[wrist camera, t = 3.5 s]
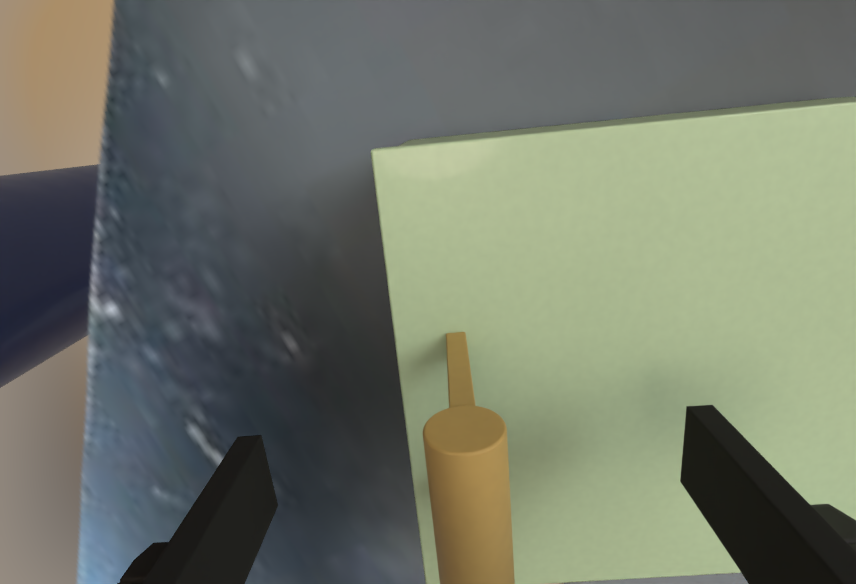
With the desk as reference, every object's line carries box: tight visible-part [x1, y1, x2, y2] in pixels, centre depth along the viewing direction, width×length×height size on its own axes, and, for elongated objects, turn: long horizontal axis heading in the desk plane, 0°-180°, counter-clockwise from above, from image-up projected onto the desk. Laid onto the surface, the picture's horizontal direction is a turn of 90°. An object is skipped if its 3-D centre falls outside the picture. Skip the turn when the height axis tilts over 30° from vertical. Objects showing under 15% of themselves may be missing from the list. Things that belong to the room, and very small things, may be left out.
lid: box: [371, 101, 856, 584], centre depth 15 cm, size 19×19×8 cm
